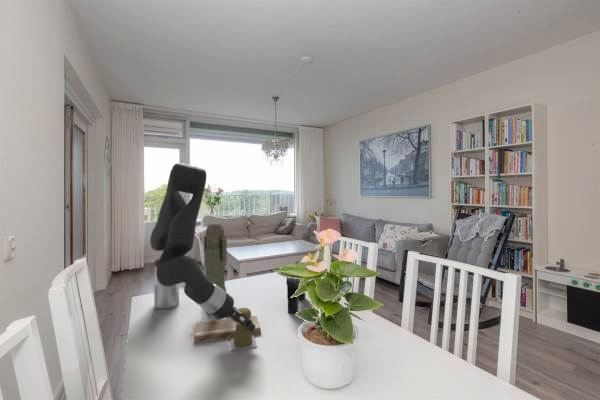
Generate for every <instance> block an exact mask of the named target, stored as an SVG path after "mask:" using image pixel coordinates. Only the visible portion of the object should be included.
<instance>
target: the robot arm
mask: <svg viewBox="0 0 600 400" xmlns="http://www.w3.org/2000/svg"><path fill="white" fill-rule="evenodd" d="M168 177H169V178H168V181H167V185H166V191H165V195H164V198H163V200H162V204H161V205H160V210H159V213H158V217H157V220H156V224H155V225H154V227H153V229H152V231H151V235H150V237H149V238H150V239H149V242H150V243H149V244H150V247H151V248H152V250H154V251H156V252H157V251H159V252H161V251H162V253H161V255H160V257H158V258H156V259H155V261H154V281H155V283H154V287H153V288H154V289H153V291H154V292H153V294H154V295H153V297H154V300H153V301H154V302H153V303H154V305H153V306H154V309H159V310H160V309H161V310H163V309H164V310H165V309H167V310H168V309H170V308H174V307H176V306H178V305H179V304H180V284H182V283H184V284H185V285H184V286H183V287H184V288H183V292H184V294H185V295H186V296H187V297H188V298H189V299H190V300H191V301H194V302H195V304H197V305H198V306H200V308H201V309H202V310H203V311H205V312H206V313H208V314H209V315H210V316H213V318H214V319H216V320H223V319H229V320H230V321H233V322H235V323H236V324H238V325H242V326H243V327H244V328H246V329H248V330H249V331H250V332H253V330H254V329H255V325H254V324H253V323H252V321H251V320H250V319H249V318H247V317H246V316H245V315H244V314H243V313H241V312H240V311H239V309H240V308H237V307H236V306H235V300H234V297H232V296H231V295H230V294H229V293H227V291H226V292H225V291H224V290H223V289H221V288H220V287H219V286H217V285H215V284H214V283H213V282H212V281H210V280H209V279H208V278H207V277H206V274H205V273H204V272H203V270H202V268H201V267H200V266H199V264H198V263H197V261H196V260H195V259H194V258H193V257H191V256H189V255H186V254H188V253H189V252H190V251H191V250H192V249H193V246H194V243H195V242H194V241H195V240H194V239H195V233H196V232H195V231H196V225H197V221H198V220H197V219H198V215H199V213H200V208H201V205H202V201H203V196H204V193H205V189H206V184H207V183H206V182H207V171H206V169H204V168H202V167H199V166H196V165H192V164H186V163H184V162H183V163H182V162H177V163H175V164H173V166H172V168H171V169H170V172H169V176H168ZM180 192H181V193H186V194H190V195H192V197H191V199H190V200H189V202H188V203H187V202H186V200H185V199H184V198H183V196H182V194H181V193H180ZM240 314H241V315H240ZM237 321H238V322H237Z"/></svg>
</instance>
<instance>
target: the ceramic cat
mask: <svg viewBox="0 0 600 400" xmlns="http://www.w3.org/2000/svg"><path fill="white" fill-rule="evenodd" d="M295 264H296V265H298V264H299V261H295V263H294V265H295ZM299 283H300V280H299V279H294V278H288V277H287V276H286V291H287V293H286V298H287V313H288V314H290V315H296V314H295V313H296V312H297V313H298V312H299V302H300V301H305V300H306V293H303V294H301V295H299V296H297V297H293V298H290V297H291V296H292V295H293V294H294V293H295V291H296V290H297V289H298V287H299Z"/></svg>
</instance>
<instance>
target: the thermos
mask: <svg viewBox="0 0 600 400" xmlns="http://www.w3.org/2000/svg"><path fill="white" fill-rule="evenodd" d="M227 243H228V241H227V238H226V236H225V230H224V227H223V225H222V224H220V223H211V224H209V225H207V227H206V231H205V235H204V237H203V253H204V254H203V256H204V267H205V277H207V278H208V279H209V280H210V281H212V282H213V283H214V284H215V285H217V286H219V287H220V288H221V289H223V290H224V291H225V292H226V293H227V288H226V281H225V280H226V278H225V277H226V276H225V274H226V273H225V271H226V270H225V266H226V265H227V261H226V260H227V259H228V258H227V249H228V244H227Z"/></svg>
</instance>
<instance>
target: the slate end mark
mask: <svg viewBox="0 0 600 400" xmlns="http://www.w3.org/2000/svg"><path fill="white" fill-rule="evenodd" d="M251 335H252V344H251V345H249V346H246V347H237V346H235V345H234V338H235V337H230V338H229V340H230V349H231V352H235V351H241V350H248V349H254V348H255V349H256V348H258V345H257V342H256V338H255V334H251Z"/></svg>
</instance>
